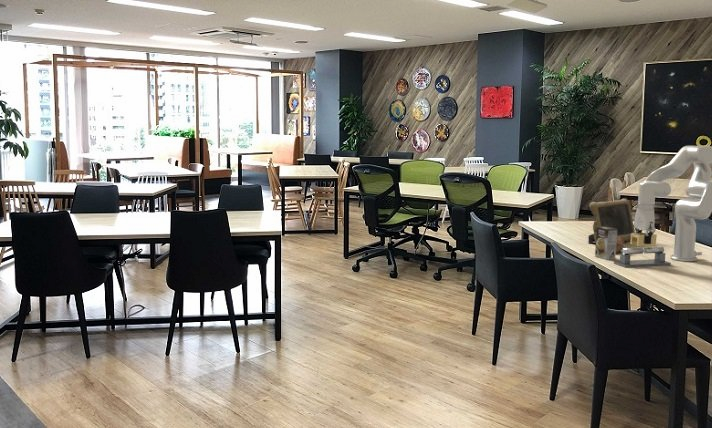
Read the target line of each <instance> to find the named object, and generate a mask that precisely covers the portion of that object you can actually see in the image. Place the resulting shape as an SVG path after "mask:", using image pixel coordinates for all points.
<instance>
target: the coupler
mask: <svg viewBox="0 0 712 428" xmlns="http://www.w3.org/2000/svg"><path fill="white" fill-rule="evenodd" d="M645 236H646V232H643V231H642V232H640V233H636V232H635V233H631V241H629V242H630V243H629V244H630V245H636V247H657V236H658V235H657V234H655V233H653V235H652V237H651V244H645Z"/></svg>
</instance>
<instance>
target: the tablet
mask: <svg viewBox="0 0 712 428" xmlns="http://www.w3.org/2000/svg"><path fill="white" fill-rule="evenodd" d="M588 207H589V209H590V211H591V214H592V215H593V218H594V221H593V225H592V230H593V233H592V234H589V235H588V237H587V238H588V241H587V242H588V244H591V245H592V244H593V243H595V244H596V231H597V227H605V226H606V227H610V228H614V229H618V230H617V235H618V236H620V237H621V238H622V239H623V240H624V243H625V242H631V233H636V231H635V228H634V226H633V225H634V220H633V216H632V212H631V211H632V210H631V205H630V203H629V200H628V199H627V198H622V199H617V200H611V201H609V200H608V201H599V202H596V201H592V202H590V203H589V205H588Z"/></svg>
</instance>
